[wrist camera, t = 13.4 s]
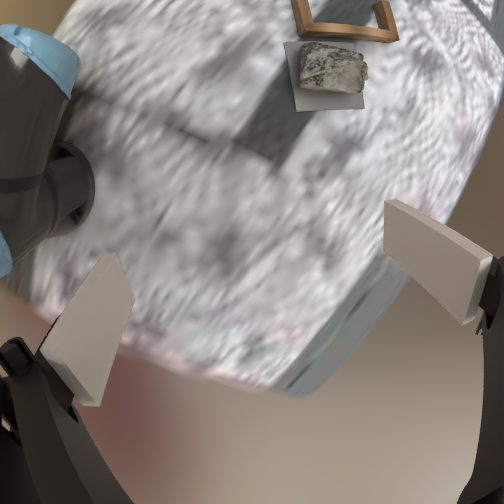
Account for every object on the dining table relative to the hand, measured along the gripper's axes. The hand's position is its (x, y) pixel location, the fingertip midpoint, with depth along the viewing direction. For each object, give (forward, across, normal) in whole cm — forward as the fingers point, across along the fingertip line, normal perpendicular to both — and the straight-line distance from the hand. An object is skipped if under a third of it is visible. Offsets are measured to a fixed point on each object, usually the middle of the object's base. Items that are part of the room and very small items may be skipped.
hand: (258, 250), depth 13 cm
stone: (+28, +15, +12) cm, 34 cm away
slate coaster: (+29, +16, +12) cm, 35 cm away
